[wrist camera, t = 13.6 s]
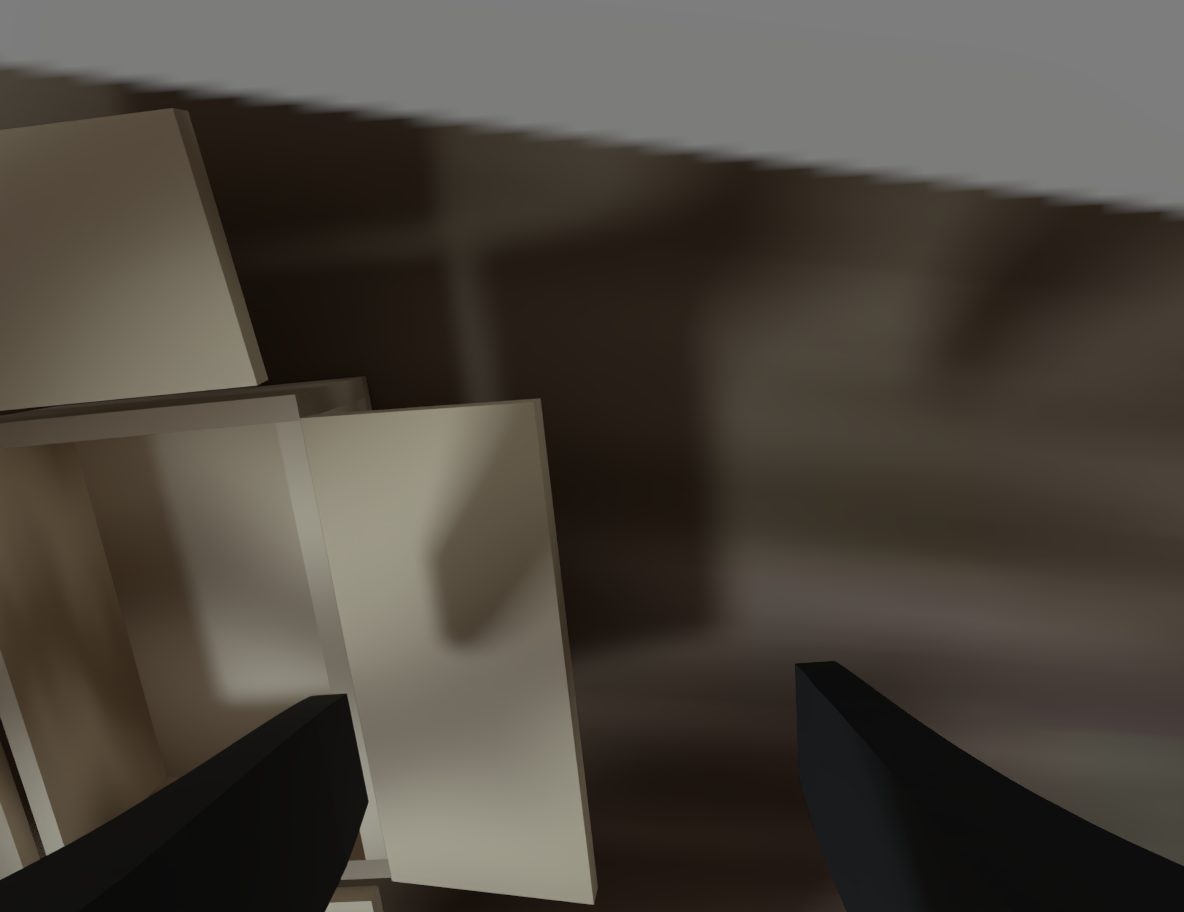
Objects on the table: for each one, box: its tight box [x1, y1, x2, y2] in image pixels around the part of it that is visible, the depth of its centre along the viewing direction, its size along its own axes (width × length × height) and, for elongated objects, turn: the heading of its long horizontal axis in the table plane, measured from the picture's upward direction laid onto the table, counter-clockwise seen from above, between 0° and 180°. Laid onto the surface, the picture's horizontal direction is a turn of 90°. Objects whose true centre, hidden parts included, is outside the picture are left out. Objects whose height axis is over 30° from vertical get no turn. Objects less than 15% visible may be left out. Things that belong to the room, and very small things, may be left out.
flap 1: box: [0, 108, 268, 411], centre depth 11 cm, size 4×7×1 cm, turn 96°
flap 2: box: [300, 398, 598, 905], centre depth 13 cm, size 10×4×1 cm, turn 6°
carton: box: [0, 376, 391, 912], centre depth 16 cm, size 16×13×4 cm
